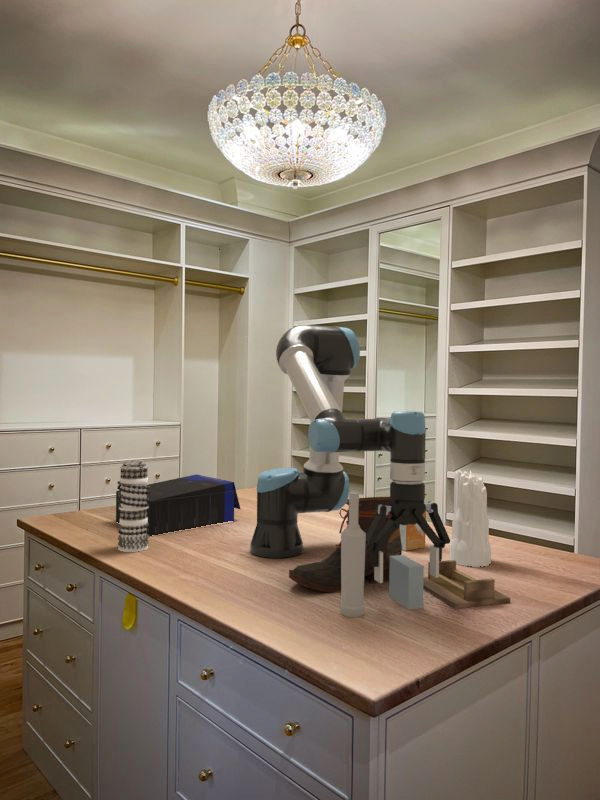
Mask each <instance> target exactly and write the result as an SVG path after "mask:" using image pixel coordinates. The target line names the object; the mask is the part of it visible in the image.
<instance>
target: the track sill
mask: <svg viewBox="0 0 600 800" xmlns="http://www.w3.org/2000/svg"><path fill="white" fill-rule="evenodd" d="M427 563H428V565H427V566H428V567H427V571H428V572H427V573H428V575H427V576H425V577H424V581H423V590H424V589H425V590H424V591H426V592H427V591H428V593H429V592H430V593H429V594H431V595H432V594H433V595H432V596H434V597H435V596H436V598H437V597H438V598H439V599H438V598H437V599H438V600H440V599H441V600H440V601H442V602H443V601H444V602H443V603H445V604H446V603H447V605H448V606H450V607H451V608H452V609H455V610H457V609H465V608H467V609H468V608H474V606H476V607H482V606H483V605H484V606H491V605H490V604H493V605H501V604H510V603H511V597H509V596H508V595H506V594H504V593H502V592H499V590H495V583H496V582H495V579H494V578H484V579H476V578H474V577H472V576H470V575H468V574H466V573H465V572H462V571H461V570H459V569H457V564H456V561H455V560H449V559H448V560H441V561H439V577H438V578H435V577H434V576H432V575H430V561H428V562H427ZM484 606H483V607H484Z"/></svg>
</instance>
